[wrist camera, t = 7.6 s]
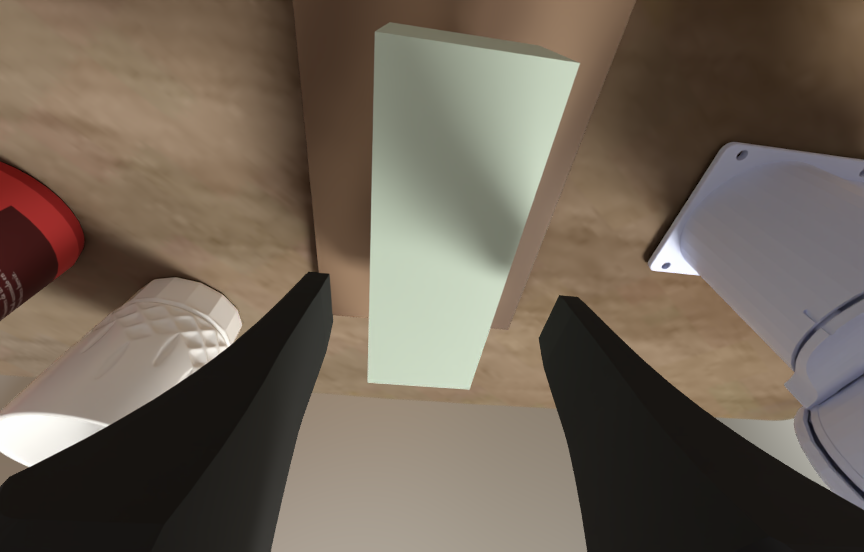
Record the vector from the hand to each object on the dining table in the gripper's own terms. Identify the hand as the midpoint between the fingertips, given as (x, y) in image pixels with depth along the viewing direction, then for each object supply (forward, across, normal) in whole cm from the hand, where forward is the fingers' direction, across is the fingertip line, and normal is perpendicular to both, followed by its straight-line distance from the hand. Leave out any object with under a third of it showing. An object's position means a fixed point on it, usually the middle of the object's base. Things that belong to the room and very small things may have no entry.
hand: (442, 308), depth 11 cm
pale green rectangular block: (+6, 0, 0) cm, 6 cm away
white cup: (+10, +16, +12) cm, 22 cm away
